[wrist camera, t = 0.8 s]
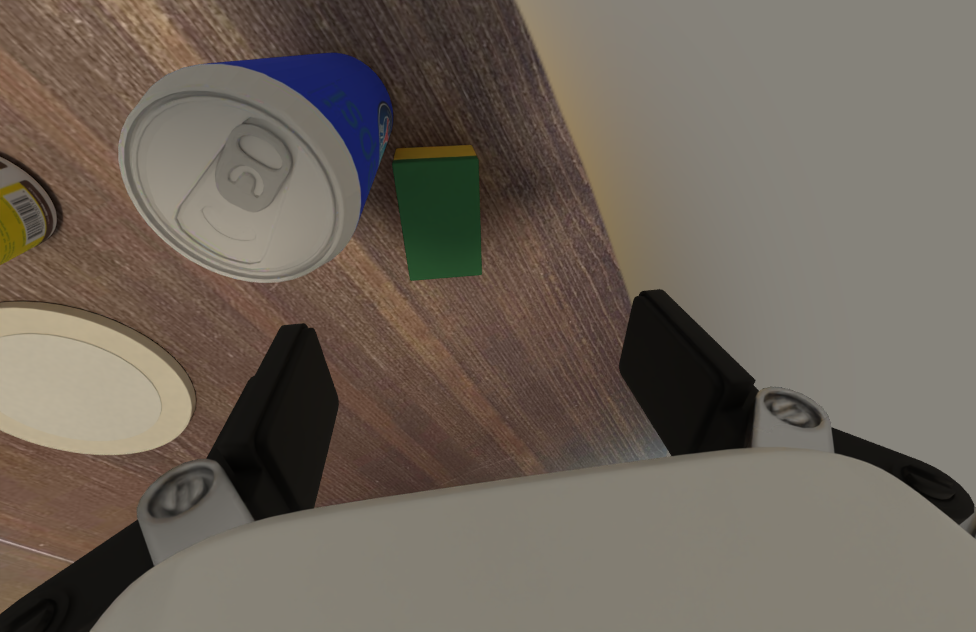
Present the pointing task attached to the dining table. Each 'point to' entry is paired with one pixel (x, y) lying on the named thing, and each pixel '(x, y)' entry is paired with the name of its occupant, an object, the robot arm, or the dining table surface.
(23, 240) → the supplement bottle
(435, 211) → the sponge
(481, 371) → the dining table surface
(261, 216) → the beverage can
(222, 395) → the dining table surface
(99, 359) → the plate
